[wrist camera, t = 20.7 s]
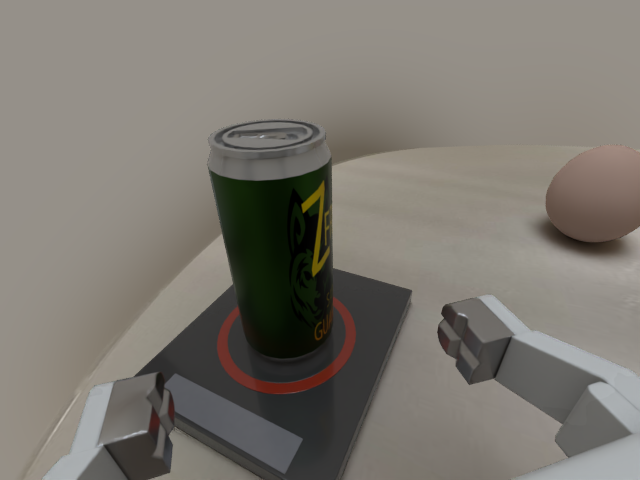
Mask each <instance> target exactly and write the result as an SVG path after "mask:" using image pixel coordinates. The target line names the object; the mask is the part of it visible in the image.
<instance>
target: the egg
mask: <svg viewBox="0 0 640 480" xmlns="http://www.w3.org/2000/svg"><path fill="white" fill-rule="evenodd" d="M546 211H547V213H548V216H549V218H550V220H551V222H552V223H553V224H554V225H555V227H556V228H558V229H559V230H560V231H561V232H562V233H564V234H565V235H567V236H568V237H571V238H573V239H575V240H580V241H584V242H604V241H610V240H614V239H617V238H621V237H623V236H625V235H627V234H628V233H630V232H632V231H634V230H635V229H637V228H638V227H639V226H640V153H639V152H638V151H636V150H634V149H632V148H629V147H626V146H622V145H605V146H600V147H596V148H593V149H590V150H587V151H585V152H583V153H581V154H579V155H578V156H576V157H575V158H573V159H572V160H570V161H569V162H568V163H567V164H566V165H565V166H564V167H563V168H562V169H561V170H560V171H559V172H558V173H557V174H556V175H555V176H554V178H553V180H552V182H551V184H550V186H549V188H548V190H547V194H546Z"/></svg>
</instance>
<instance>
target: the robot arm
mask: <svg viewBox="0 0 640 480" xmlns="http://www.w3.org/2000/svg"><path fill="white" fill-rule="evenodd" d="M441 314H442V316H443V317H444V319H443V320H442V321H441V322H440V323H439V326H438V332H437V333H438V338H439V342H440V344H441V346H442V348H443V349H444V351H445V352H446V354H447V355H449V356H451V357H453V358H455V359H456V367H457V369H458V370H459V372H460V373H461V374H462V376H463V377H464V378H465V380H466V381H467V382H468V384H469V385H471V384H475V383H479V382H482V381H486V380H490V379H494V378H495V380H496V381H497V382H499V383H500V384H502V385H503V386H505V387H506V388H508V389H509V390H511V391H512V392H514V393H516V394H517V395H519V396H520V397H522V398H523V399H525V400H526V401H528V402H529V403H531V404H532V405H534V406H536V407H537V408H539V409H540V410H542V411H543V412H545V413H546V414H548V415H549V416H551V417H552V418H554V419H555V420H557V421H559V422H560V423H562V424H563V425H562V426H561V428H560V429H559V431H558V432H557V434H556V436H555V442H556V443H557V444H558V445H559V447H560V448H561V449H562V450H563V452H564V453H565V454H566V455H567V456H568V458H567V459H564V460H561V461H558V462H556V463H553V464H550V465H548V466H545V467H542V468H540V469H537V470H534V471H531V472H529V473H526V474H523V475H521V476H518V477H515V478H513V479H510V480H640V377H639V376H638V375H637V374H636V373H634V372H633V371H632V370H630V369H627V368H625V367H623V366H620V365H618V364H615V363H613V362H611V361H608V360H606V359H604V358H601V357H599V356H596V355H594V354H592V353H589V352H587V351H584V350H582V349H580V348H577V347H575V346H573V345H570V344H568V343H565V342H563V341H561V340H558V339H556V338H554V337H551V336H549V335H546V334H544V333H542V332H539V331H537V330H534V331H531V330H530V329H529V328H528V327H527V326H526V325H525V324H523V323H522V322H521V321H520V320H519V319H518V318H517V317H516V316H515V315H514V314H513V313H512V312H511V311H510V310H509V309H508V308H507V307H505V306H504V305H503V304H502V303H501V302H500V301H499V300H498V299H497V298H496V297H495V296H493V295H491V294H488V295H483V296H479V297H475V298H470V299H466V300H462V301H458V302H453V303H449V304H446V305H445V306H444V307H443V308H442V312H441ZM164 386H165V378H164V376H163V374H162V372H155V373H150V374H146V375H141V376H136V377H131V378H126V379H122V380H117V381H113V382H108V383H104V384H99V385H95V386H94V387H93V388H92V389H91V391H90V392H89V395H88V398H87V401H86V404H85V407H84V410H83V413H82V416H81V419H80V422H79V425H78V428H77V431H76V434H75V437H74V440H73V443H72V446H71V449H70V452H69V455H66V456H62V457H61V458H60V459H59V460H58V461H57V462H56V463H55V464H54V466H53V467H52V468H51V469H50V470H49V471H48V472H47V473H46V474H45V476H44V477H43V478H42V479H41V480H149V479H152V478H155V477H158V476H161V475H164V474H167V473H170V469H171V458H172V447H173V444H172V442H171V440H170V438H169V436H168V435H169V434H170V432H171V431H172V430H173V428H174V423H175V408H174V401H173V397H172V394H171V392H170V390H168V389H166V388H164Z"/></svg>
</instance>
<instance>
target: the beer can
mask: <svg viewBox="0 0 640 480" xmlns="http://www.w3.org/2000/svg"><path fill="white" fill-rule="evenodd" d="M325 139H326V132H325V130H324V128H323V127H322V126H320V125H318V124H315V123H312V122H308V121H301V120H293V119H271V120H257V121H249V122H244V123H239V124H234V125H230V126H227V127H225V128H221V129H219V130H217V131H215V132H214V133H212V134H211V135H210V137H209V138H208V141H209V146H210V148H211V152H210V156H209V159H208V163H207V165H208V169H209V174H210V178H211V183H212V188H213V192H214V197H215V201H216V206H217V211H218V216H219V220H220V225H221V229H222V234H223V239H224V243H225V248H226V253H227V257H228V262H229V267H230V271H231V276H232V280H233V285H234V290H235V294H236V299H237V304H238V308H239V313H240V317H241V322H242V327H243V331H244V334H245V337H246V340H247V342H248V343H249V344H250V346H251V347H252V348H253V349H254V350H255V351H256V352H257V353H258V354H260V355H261V356H263V357H265V358H267V359H269V360H271V361H275V362H281V363H289V362H298V361H300V360H303V359H306V358H308V357H310V356H312V355H313V354H314V353H316V352H317V351H318V350H320V348H321V347H322V345H323V344H324V343H325V341H326V340H327V338H328V337H329V335H330V334H331V330H332V326H333V253H332V162H331V160H332V159H331V154H330V151H329V149H328V147H327V145H326V143H325Z"/></svg>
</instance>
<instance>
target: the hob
mask: <svg viewBox="0 0 640 480" xmlns="http://www.w3.org/2000/svg"><path fill="white" fill-rule="evenodd" d="M411 296H412V290H409V289H406V288H402V287H399V286H395V285H391V284H388V283H384V282H381V281H377V280H374V279H370V278H366V277H363V276H359V275H356V274H352V273H348V272H345V271H341V270H338V269H334V268H333V326H332V330H331V334H330V335H329V337H328V338H327V340H326V341H325V343H324V344H323V345H322V347H321V348H320V350H318V351H317V352H316V353H314V354H313V355H312V356H310V357H308V358H306V359H303V360H300V361H298V362H289V363H281V362H275V361H271V360H269V359H267V358H265V357H263V356H261V355H260V354H258V353H257V352H256V351H255V350H254V349H253V348H252V347H251V346H250V344H249V343H248V342H247V340H246V337H245V334H244V331H243V327H242V322H241V317H240V313H239V308H238V304H237V299H236V294H235V290H234V285H232V286H231V287H230V288H228V289H227V290H226V291H225V292H224V293H223V294H222V295H221V296H220V297H219V298H218V299H217V300H216V301H214V302H213V303H212V304H211V305H210V306H209V307H208V308H207V309H206V310H205V311H204V312H203V313H202V314H200V315H199V316H198V317H197V318H196V319H195V320H194V321H193V322H192V323H191V324H190V325H189V326H188V327H186V328H185V329H184V330H183V331H182V332H181V333H180V334H179V335H178V336H177V337H176V338H175V339H174V340H172V341H171V342H170V343H169V344H168V345H167V346H166V347H165V348H164V349H163V350H162V351H161V352H160V353H158V354H157V355H156V356H155V357H154V358H153V359H152V360H151V361H150V362H149V363H148V364H147V365H146V366H144V367H143V368H142V369H141V370H140V371H139V372H138V373H137V374H136V375H135V376H134V377H136V376H141V375H146V374H150V373H155V372H162V374H163V376H164V378H165V386H164V388H166V389H168V390H170V392H171V394H172V397H173V401H174V408H175V423H174V426H176V427H178V428H179V429H181V430H183V431H184V432H186V433H188V434H189V435H191V436H193V437H194V438H196V439H198V440H199V441H201V442H203V443H204V444H206V445H208V446H209V447H211V448H213V449H214V450H216V451H218V452H219V453H221V454H223V455H224V456H226V457H228V458H229V459H231V460H233V461H235V462H236V463H238V464H240V465H241V466H243V467H245V468H246V469H248V470H250V471H251V472H253V473H255V474H256V475H258V476H260V477H261V478H263V479H265V480H340V479H341V477H342V474H343V472H344V469H345V467H346V464H347V462H348V459H349V457H350V454H351V452H352V449H353V447H354V444H355V442H356V439H357V436H358V434H359V431H360V429H361V426H362V424H363V421H364V419H365V416H366V414H367V411H368V409H369V406H370V404H371V401H372V398H373V396H374V393H375V391H376V388H377V386H378V383H379V381H380V378H381V376H382V373H383V371H384V368H385V366H386V363H387V361H388V358H389V355H390V353H391V350H392V348H393V345H394V343H395V340H396V338H397V335H398V333H399V330H400V328H401V325H402V323H403V320H404V317H405V315H406V312H407V310H408V307H409V305H410V302H411Z"/></svg>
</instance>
